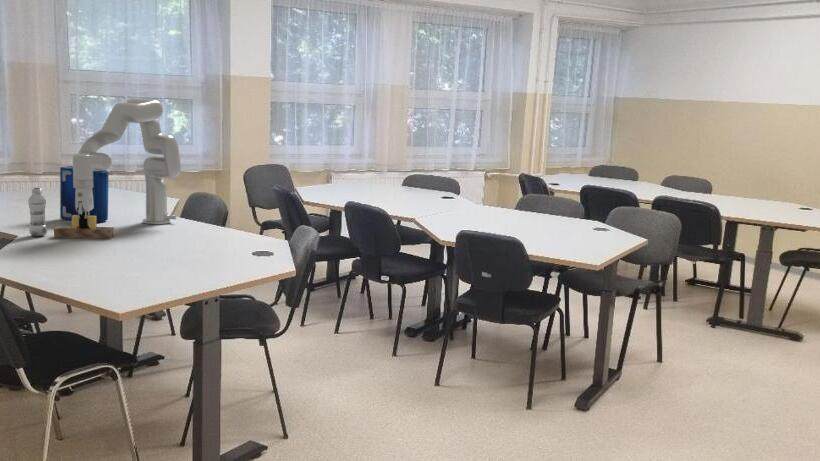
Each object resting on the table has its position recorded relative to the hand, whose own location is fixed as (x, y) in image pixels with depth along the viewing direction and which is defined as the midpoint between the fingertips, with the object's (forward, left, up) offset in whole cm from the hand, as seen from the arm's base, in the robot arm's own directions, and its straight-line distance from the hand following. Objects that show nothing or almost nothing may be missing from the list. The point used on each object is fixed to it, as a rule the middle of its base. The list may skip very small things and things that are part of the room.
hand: (84, 227), depth 301 cm
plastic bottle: (+18, 0, -4) cm, 19 cm away
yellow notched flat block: (0, 0, -3) cm, 3 cm away
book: (+10, -40, -4) cm, 41 cm away
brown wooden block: (0, 0, -4) cm, 4 cm away
